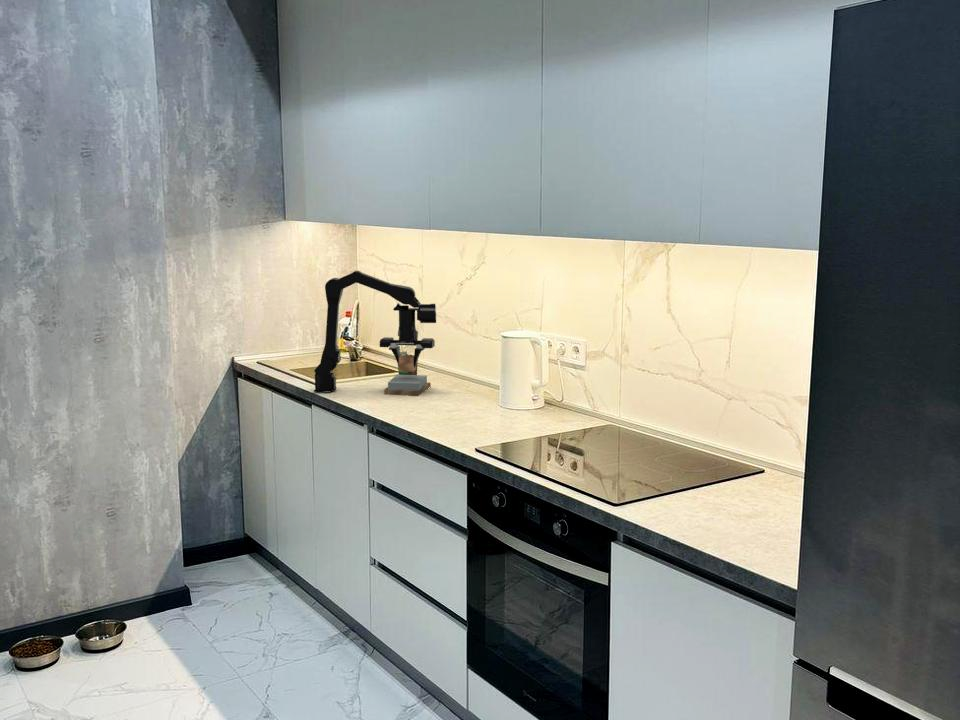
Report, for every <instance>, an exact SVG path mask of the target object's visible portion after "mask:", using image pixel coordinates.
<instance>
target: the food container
mask: <svg viewBox="0 0 960 720" xmlns="http://www.w3.org/2000/svg"><path fill="white" fill-rule="evenodd" d="M401 355H409V354H408V351H400V356H401ZM397 367H398V368H397V369H398V370H397V372H398V373H397V374H398V375H418V363H417V364H416V370H415V371H413V372H400V371H399V365H398V364H397Z"/></svg>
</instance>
